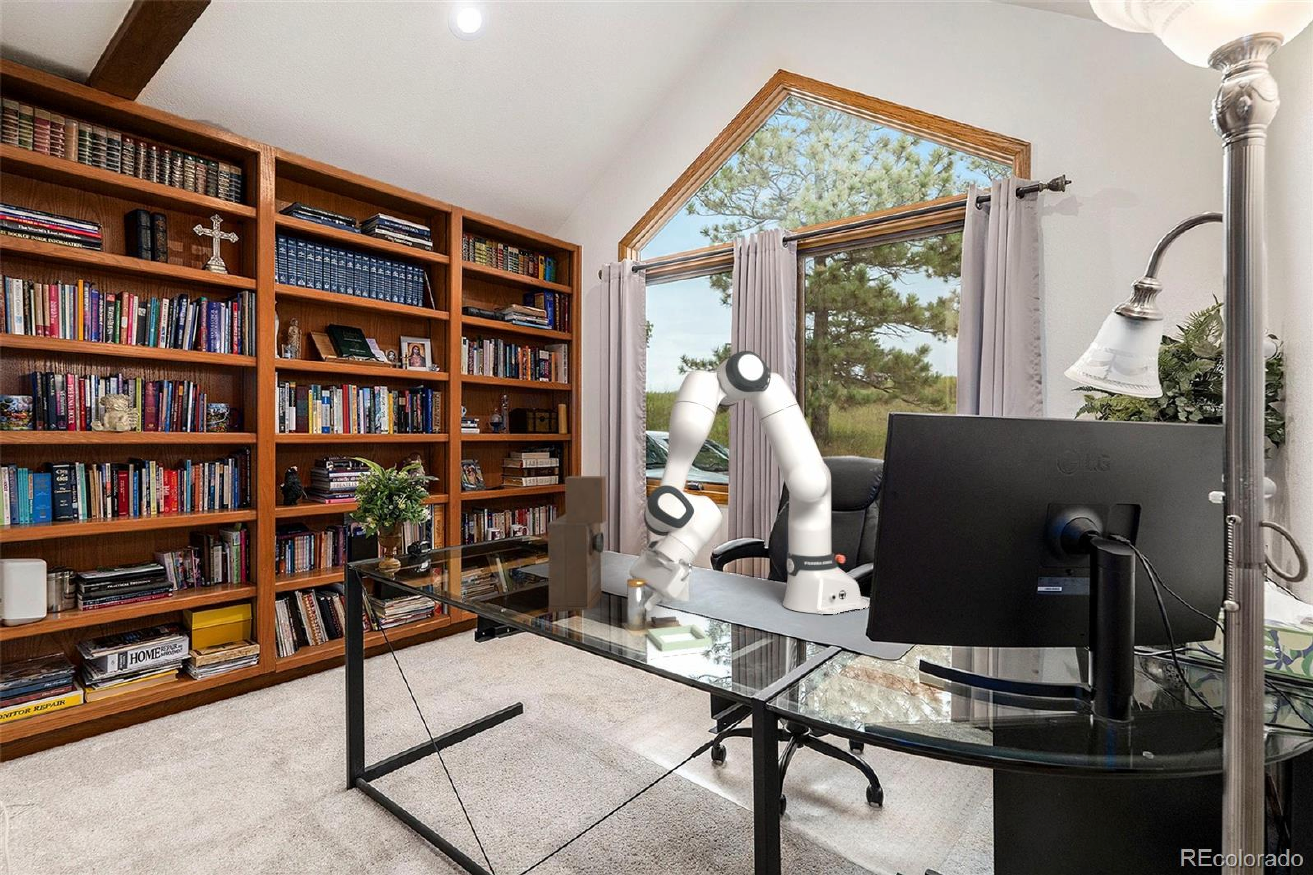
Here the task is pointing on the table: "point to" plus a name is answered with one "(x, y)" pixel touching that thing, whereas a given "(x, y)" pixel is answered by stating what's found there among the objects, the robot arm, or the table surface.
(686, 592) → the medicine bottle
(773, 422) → the robot arm
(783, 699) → the table surface
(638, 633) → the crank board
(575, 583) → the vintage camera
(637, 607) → the glass spice jar
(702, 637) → the tray
